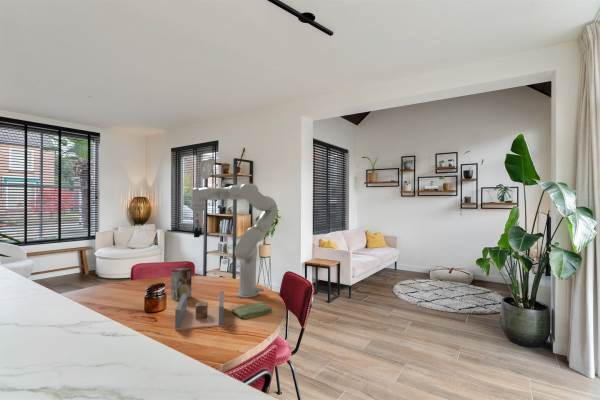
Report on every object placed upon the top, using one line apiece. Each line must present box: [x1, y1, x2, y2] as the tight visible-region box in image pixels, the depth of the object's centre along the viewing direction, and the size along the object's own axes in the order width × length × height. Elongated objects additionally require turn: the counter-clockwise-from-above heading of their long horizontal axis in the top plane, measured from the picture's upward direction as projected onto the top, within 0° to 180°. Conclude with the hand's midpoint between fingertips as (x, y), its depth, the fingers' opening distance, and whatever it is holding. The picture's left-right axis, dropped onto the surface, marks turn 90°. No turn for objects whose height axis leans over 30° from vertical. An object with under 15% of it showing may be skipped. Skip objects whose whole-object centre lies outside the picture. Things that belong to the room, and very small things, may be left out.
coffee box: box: [170, 267, 192, 301], centre depth 174 cm, size 9×6×16 cm
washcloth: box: [231, 300, 273, 320], centre depth 153 cm, size 13×18×3 cm
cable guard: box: [174, 290, 225, 331], centre depth 144 cm, size 20×23×9 cm
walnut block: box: [195, 301, 209, 319], centre depth 144 cm, size 5×5×6 cm
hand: (197, 236), depth 186 cm, fingers open, 9 cm apart
